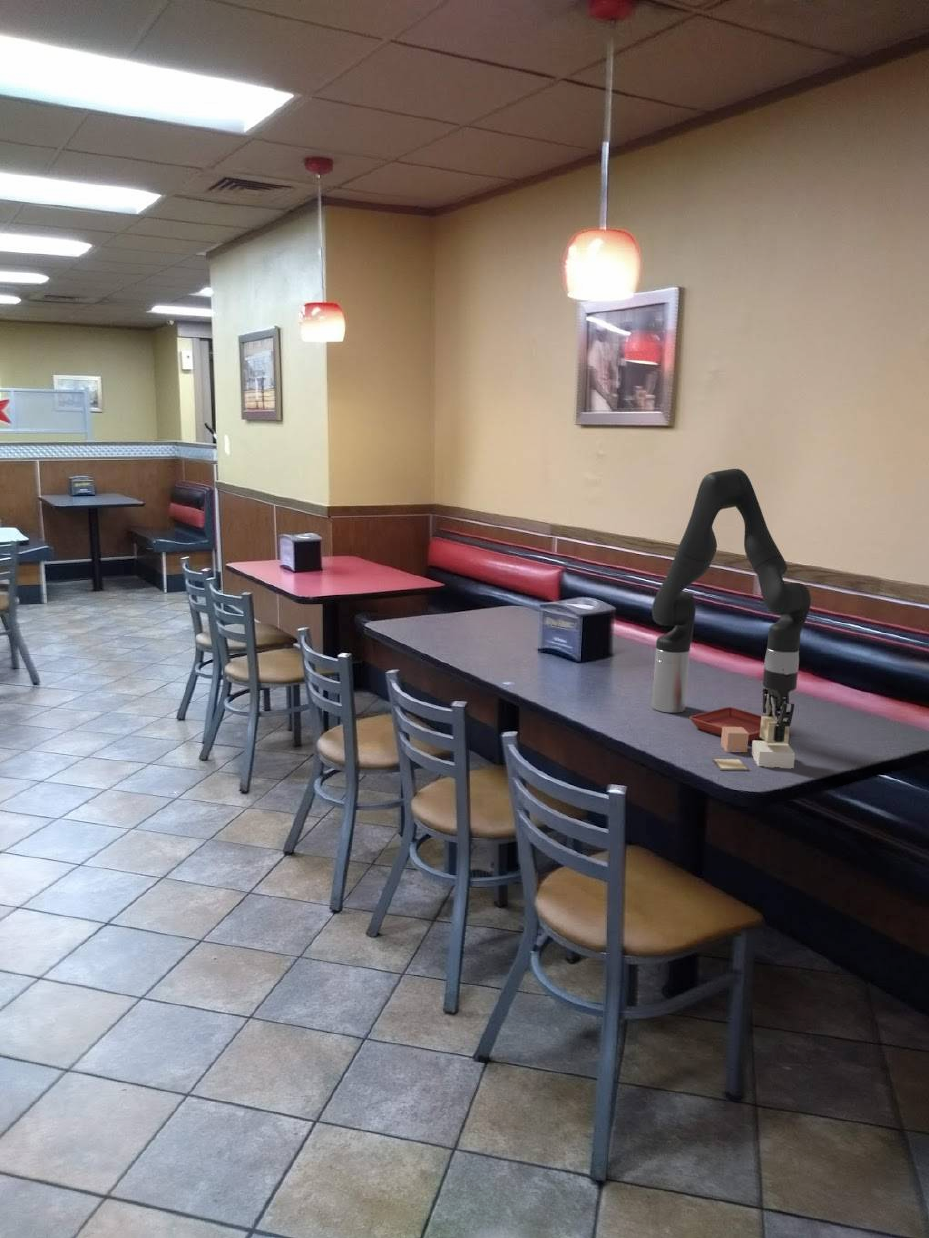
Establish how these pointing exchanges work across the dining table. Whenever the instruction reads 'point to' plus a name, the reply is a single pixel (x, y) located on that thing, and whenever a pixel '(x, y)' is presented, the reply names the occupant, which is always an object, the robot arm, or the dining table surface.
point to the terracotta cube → (734, 739)
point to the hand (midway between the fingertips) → (774, 737)
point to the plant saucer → (728, 721)
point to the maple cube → (771, 730)
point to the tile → (730, 764)
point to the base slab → (773, 754)
